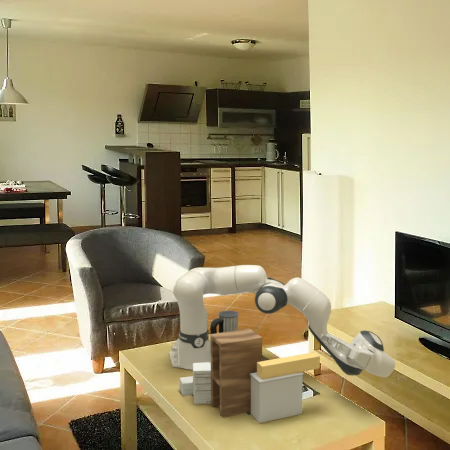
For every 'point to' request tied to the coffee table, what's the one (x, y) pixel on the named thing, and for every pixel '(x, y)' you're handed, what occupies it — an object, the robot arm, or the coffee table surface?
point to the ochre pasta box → (288, 365)
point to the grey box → (276, 396)
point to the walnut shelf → (233, 369)
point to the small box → (186, 385)
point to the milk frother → (225, 322)
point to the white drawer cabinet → (202, 383)
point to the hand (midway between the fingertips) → (329, 341)
